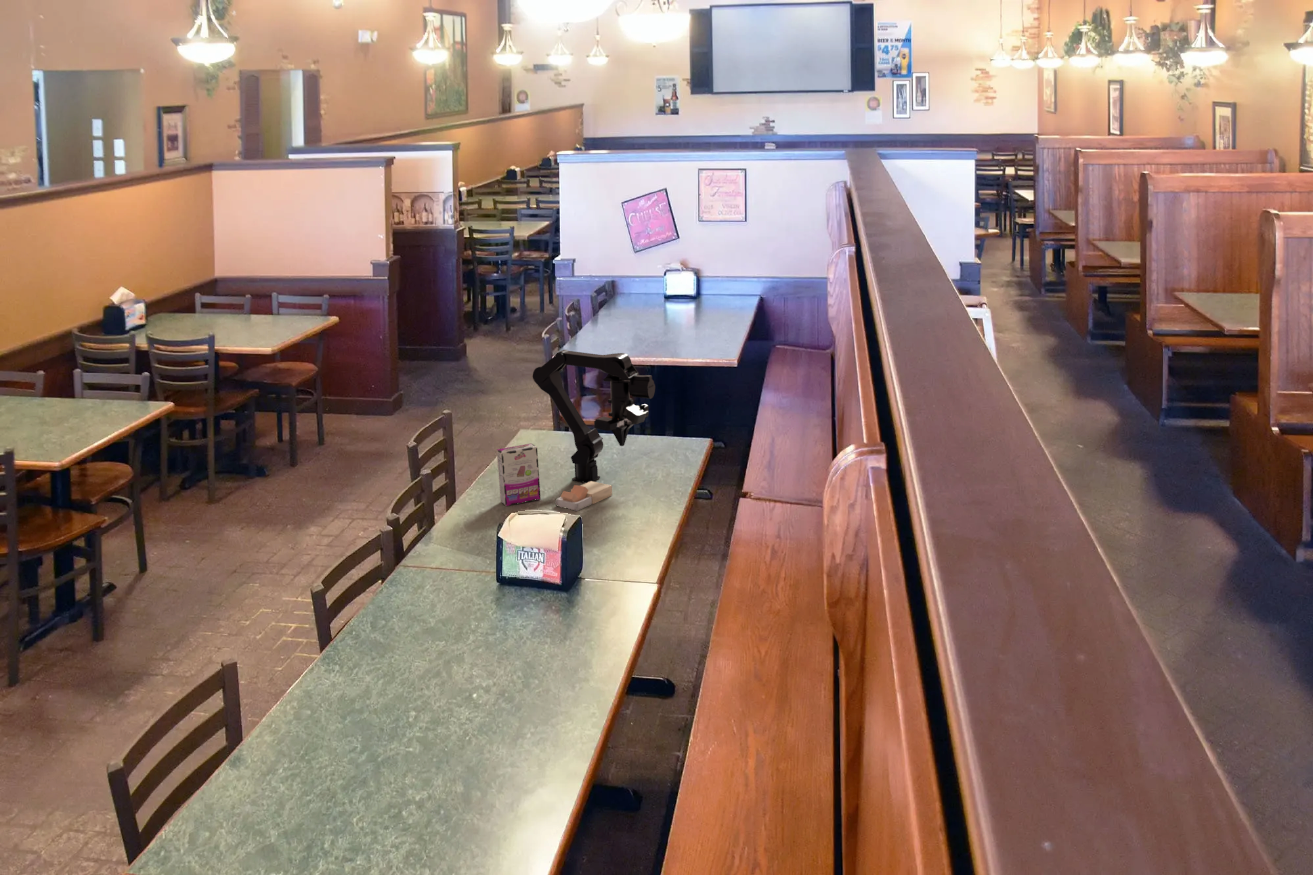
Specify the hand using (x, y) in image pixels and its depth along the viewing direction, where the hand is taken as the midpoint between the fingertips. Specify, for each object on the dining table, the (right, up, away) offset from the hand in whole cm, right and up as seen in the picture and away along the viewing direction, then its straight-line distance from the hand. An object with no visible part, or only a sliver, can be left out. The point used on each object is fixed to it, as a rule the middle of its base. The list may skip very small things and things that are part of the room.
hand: (621, 445), depth 347 cm
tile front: (-14, -14, -16) cm, 26 cm away
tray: (-14, -17, -15) cm, 26 cm away
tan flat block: (-9, -15, -8) cm, 19 cm away
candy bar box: (-30, -16, -10) cm, 35 cm away
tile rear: (-12, -14, -13) cm, 23 cm away
